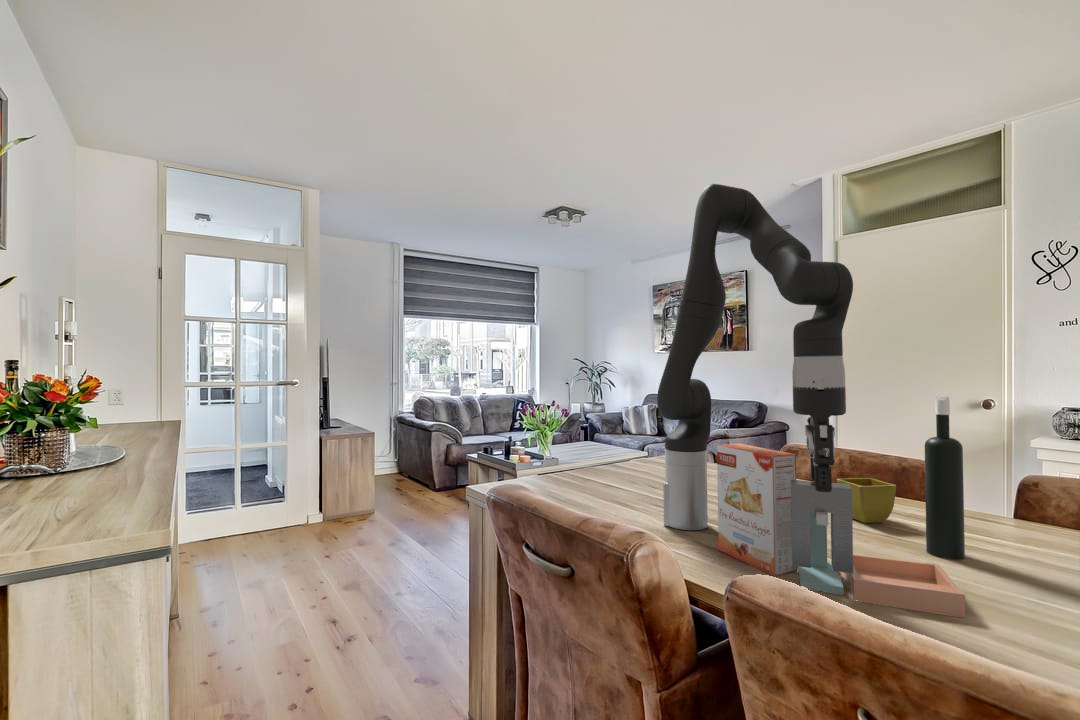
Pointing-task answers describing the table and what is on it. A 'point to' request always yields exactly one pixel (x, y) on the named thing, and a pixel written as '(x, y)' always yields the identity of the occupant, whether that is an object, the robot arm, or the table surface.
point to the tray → (905, 585)
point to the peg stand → (820, 559)
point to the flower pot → (871, 499)
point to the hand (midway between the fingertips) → (820, 485)
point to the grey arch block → (841, 523)
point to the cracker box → (756, 506)
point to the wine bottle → (944, 489)
